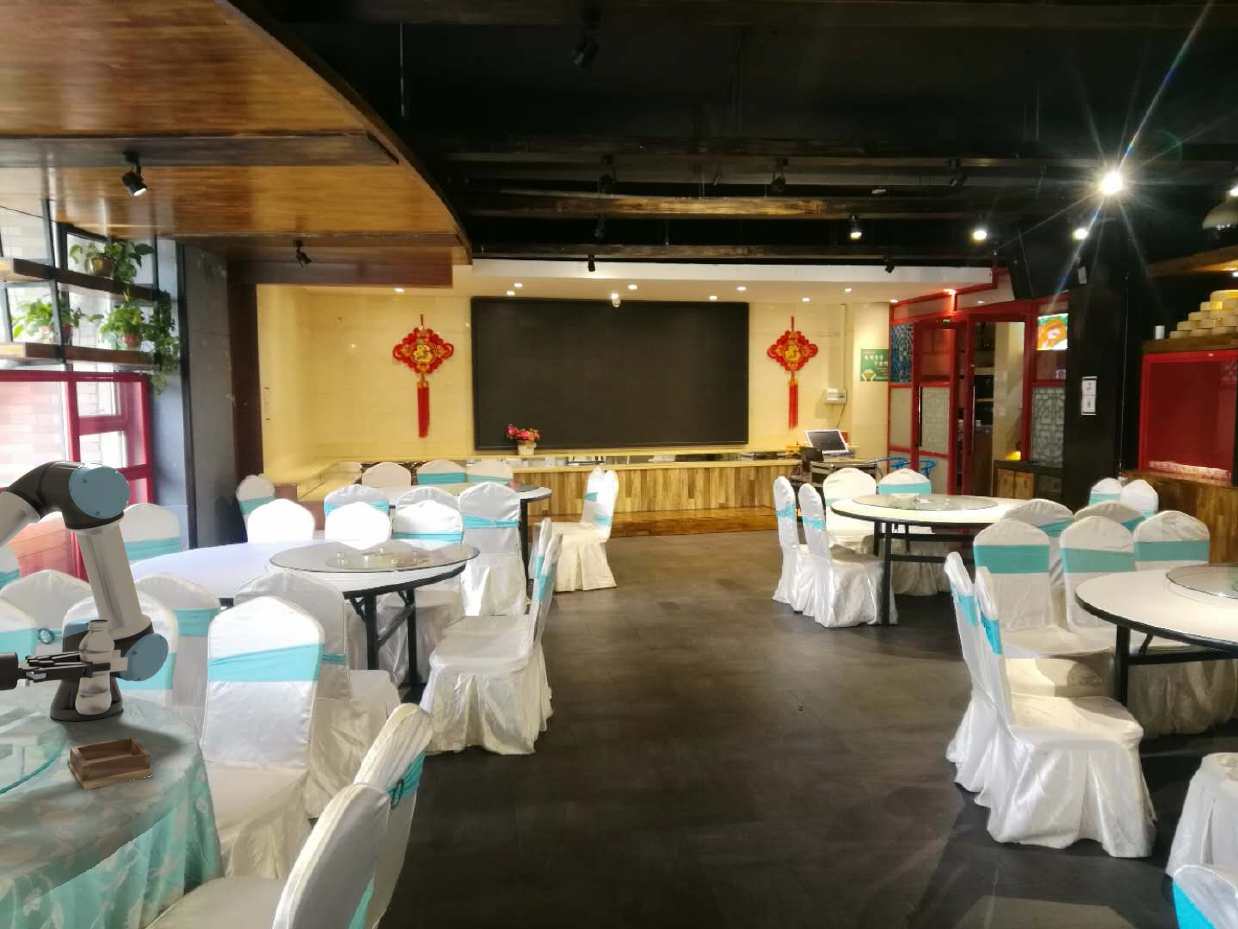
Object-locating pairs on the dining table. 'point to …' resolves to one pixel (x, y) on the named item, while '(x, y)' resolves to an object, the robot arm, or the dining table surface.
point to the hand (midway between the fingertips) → (123, 659)
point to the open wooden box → (109, 762)
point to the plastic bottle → (95, 689)
